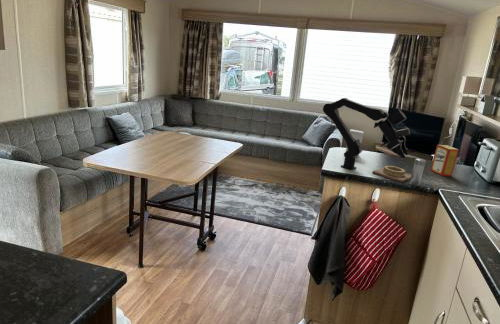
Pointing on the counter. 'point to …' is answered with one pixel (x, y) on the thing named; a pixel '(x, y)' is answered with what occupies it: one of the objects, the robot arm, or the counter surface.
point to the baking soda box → (444, 160)
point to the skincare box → (356, 136)
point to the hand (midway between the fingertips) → (405, 156)
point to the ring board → (393, 173)
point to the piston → (417, 172)
